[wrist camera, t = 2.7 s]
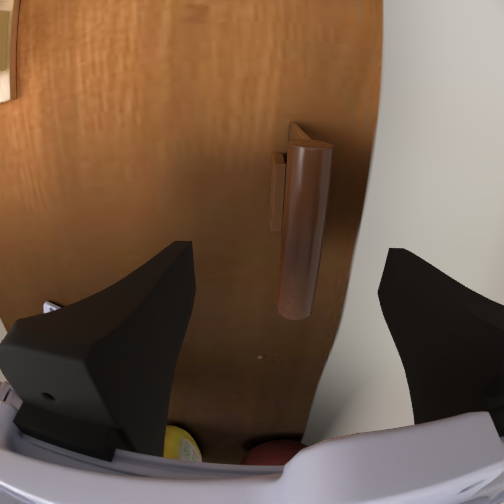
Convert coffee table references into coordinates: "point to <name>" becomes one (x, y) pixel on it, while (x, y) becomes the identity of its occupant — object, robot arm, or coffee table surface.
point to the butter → (3, 38)
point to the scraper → (303, 222)
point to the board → (10, 52)
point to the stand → (277, 191)
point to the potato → (273, 453)
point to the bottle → (180, 445)
